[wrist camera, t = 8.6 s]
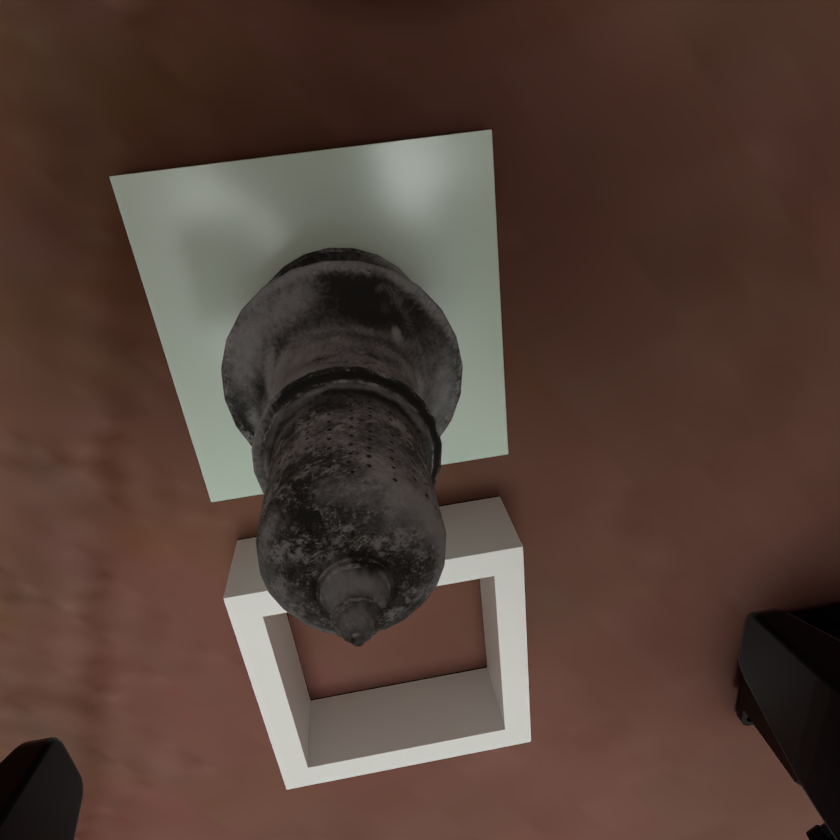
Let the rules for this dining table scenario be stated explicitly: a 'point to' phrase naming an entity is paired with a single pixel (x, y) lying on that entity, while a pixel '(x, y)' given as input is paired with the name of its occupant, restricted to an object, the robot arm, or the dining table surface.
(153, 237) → the green tile
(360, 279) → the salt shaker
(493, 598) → the shaker holder
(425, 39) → the dining table surface
